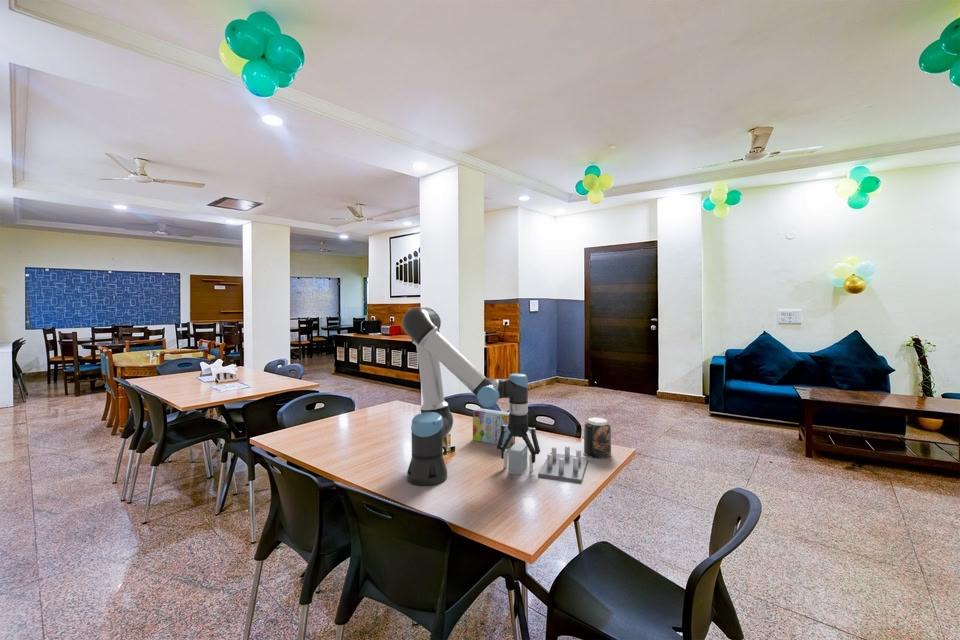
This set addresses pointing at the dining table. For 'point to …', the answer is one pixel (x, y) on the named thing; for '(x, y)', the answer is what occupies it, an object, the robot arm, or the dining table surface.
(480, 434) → the snack box
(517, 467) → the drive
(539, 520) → the dining table surface
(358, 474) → the dining table surface
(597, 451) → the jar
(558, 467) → the grey peg board
